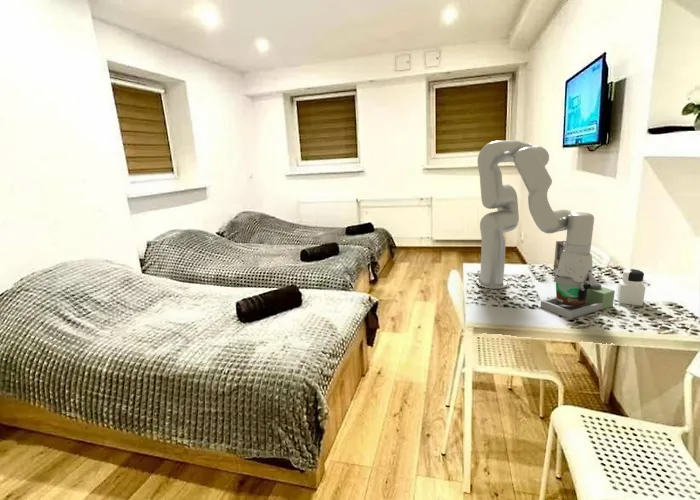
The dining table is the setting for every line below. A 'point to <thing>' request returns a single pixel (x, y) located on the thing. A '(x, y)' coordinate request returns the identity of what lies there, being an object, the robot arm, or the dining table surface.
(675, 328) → the dining table surface
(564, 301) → the food container
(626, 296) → the medicine bottle
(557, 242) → the coffee box
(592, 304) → the shallow rimmed tray
